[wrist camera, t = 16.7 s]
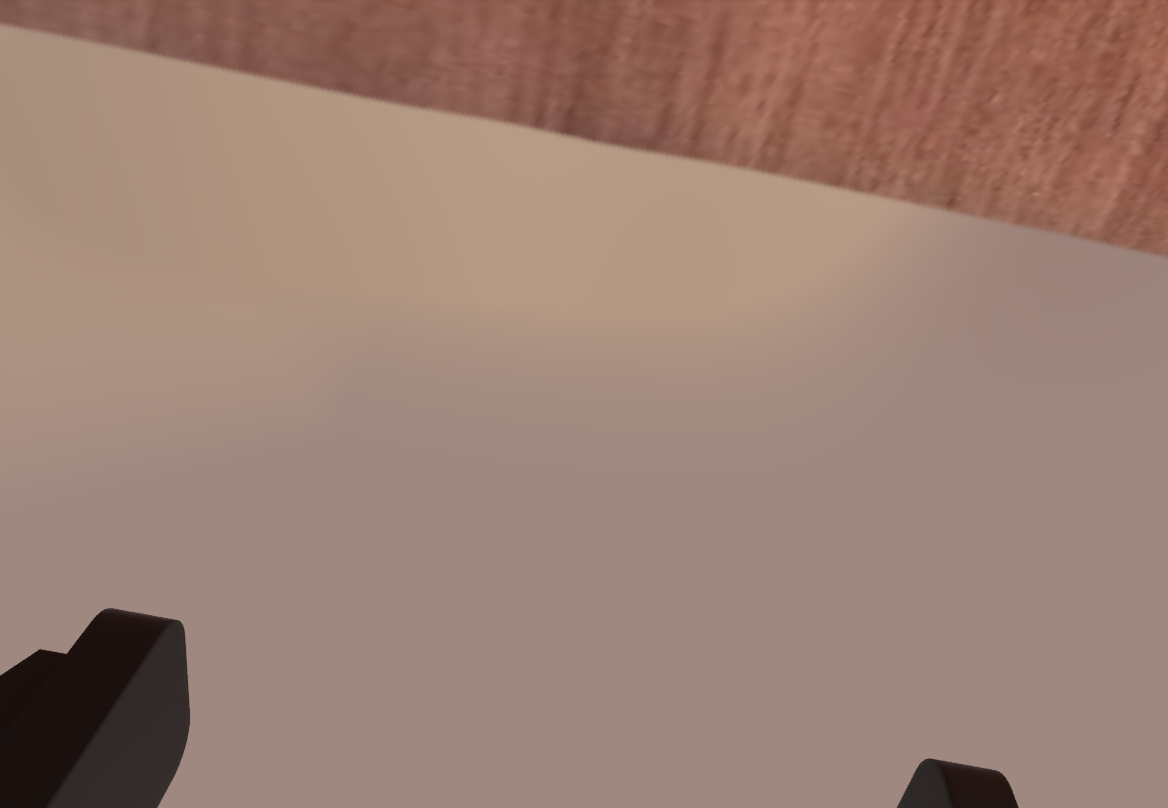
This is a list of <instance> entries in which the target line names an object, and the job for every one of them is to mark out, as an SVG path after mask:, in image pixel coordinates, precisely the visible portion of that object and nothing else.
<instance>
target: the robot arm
mask: <svg viewBox="0 0 1168 808" xmlns="http://www.w3.org/2000/svg"><path fill="white" fill-rule="evenodd" d="M188 692H189V691H188V675H187V661H186V644H185V631H184V627H183V625H182V623H181V622H180V621H179V620H174V619H168V618H162V617H157V616H152V615H146V614H140V613H135V612H129V611H123V610H118V609H113V608H108V609H105V610H103V611H101V612H100V613H99V614H98V615H97V616H96V617H95V618H94V619H93V620H92V621H91V623H90V624H89V626H88V627H87V628H86V629H85V631H84V632H83V633H82V635H81V636H80V637H79V639H78V640H77V641H76V642H75V644H74V645H73V646H72V648H71V649H70V650H69V652H68V653H67V654H64V653H58V652H52V651H46V650H41V649H40V650H38V651H37V652H35V653H34V654H32V655H31V656H29V657H28V658H26V659H25V660H23V661H22V662H20V663H19V664H17V665H16V666H14V667H13V668H11V669H10V670H8V671H7V672H5V673H4V674H2V675H1V676H0V808H157V807H158V805H159V803H160V801H161V800H162V798H163V796H164V794H165V792H166V791H167V789H168V787H169V785H170V783H171V781H172V779H173V777H174V775H175V773H176V771H177V769H178V766H179V764H180V761H181V759H182V756H183V753H184V749H185V746H186V742H187V738H188V732H189V726H190V708H189V693H188ZM897 808H1018V805H1017V802H1016V800H1015V797H1014V794H1013V791H1012V789H1011V787H1010V784H1009V783H1008V781H1007V779H1006V778H1005V777H1004V775H1003V774H1002V773H1000V772H998V771H996V770H991V769H985V768H980V767H974V766H969V765H963V764H957V763H952V762H946V761H940V760H935V759H925V760H924V761H922V762H921V763H920V765H919V766H918V768H917V769H916V771H915V773H914V775H913V777H912V779H911V781H910V783H909V785H908V787H907V789H906V791H905V793H904V795H903V797H902V799H901V801H900V803H899V805H898V806H897Z"/></svg>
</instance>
